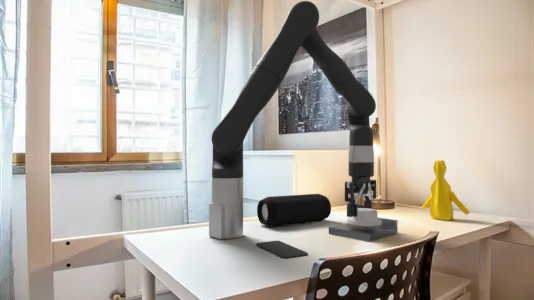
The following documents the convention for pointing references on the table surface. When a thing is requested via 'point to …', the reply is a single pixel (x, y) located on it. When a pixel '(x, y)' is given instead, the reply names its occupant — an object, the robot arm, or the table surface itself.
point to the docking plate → (366, 230)
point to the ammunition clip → (360, 203)
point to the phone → (281, 249)
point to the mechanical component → (365, 218)
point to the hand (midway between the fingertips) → (361, 214)
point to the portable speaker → (293, 209)
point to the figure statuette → (442, 196)
